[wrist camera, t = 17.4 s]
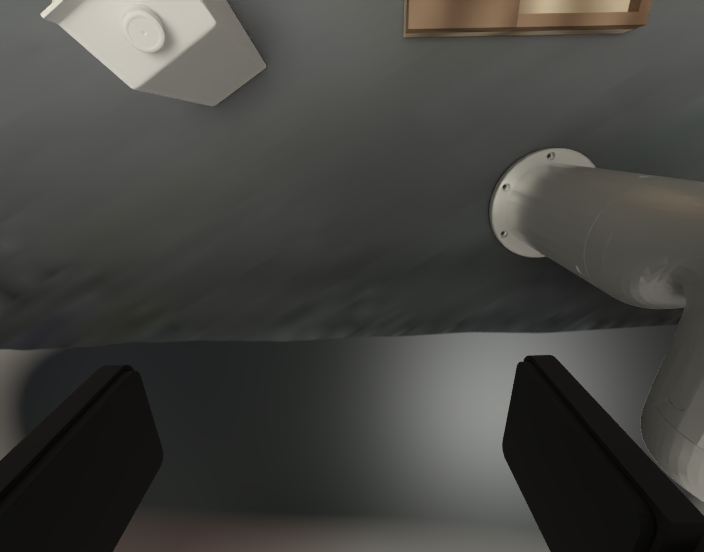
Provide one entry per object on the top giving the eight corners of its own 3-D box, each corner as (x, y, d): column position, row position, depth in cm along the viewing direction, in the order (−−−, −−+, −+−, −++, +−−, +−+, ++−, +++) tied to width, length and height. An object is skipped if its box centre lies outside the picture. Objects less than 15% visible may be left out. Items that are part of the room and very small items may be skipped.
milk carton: (167, 40, 35) (-18, -58, 17) (223, -6, 33) (85, -163, 16) (214, 107, 37) (93, 82, 19) (268, 67, 36) (190, 1, 18)
